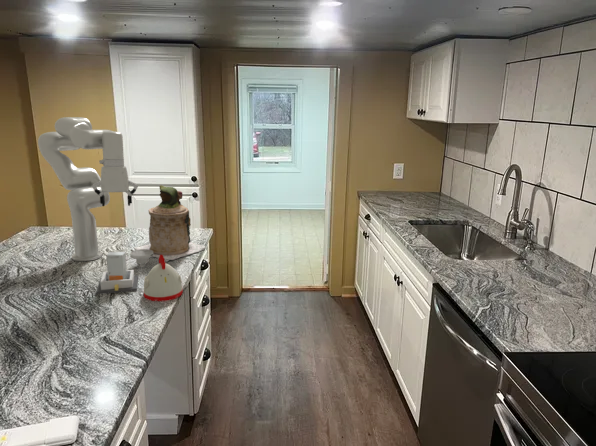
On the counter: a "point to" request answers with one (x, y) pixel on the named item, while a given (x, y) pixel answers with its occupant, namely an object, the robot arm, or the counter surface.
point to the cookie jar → (170, 227)
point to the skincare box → (116, 266)
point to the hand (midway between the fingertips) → (116, 205)
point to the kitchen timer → (162, 283)
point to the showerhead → (141, 256)
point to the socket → (117, 284)
